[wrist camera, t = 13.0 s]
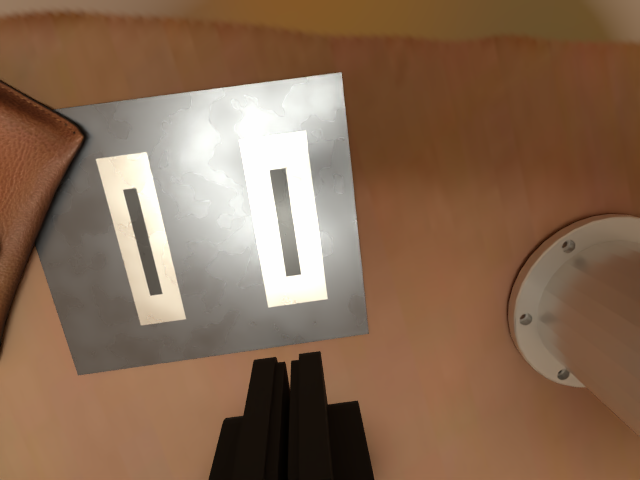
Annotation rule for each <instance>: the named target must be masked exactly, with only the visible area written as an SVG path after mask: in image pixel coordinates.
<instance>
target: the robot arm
mask: <svg viewBox="0 0 640 480" xmlns="http://www.w3.org/2000/svg"><path fill="white" fill-rule="evenodd" d="M508 322H509V328H510V334H511V337H512V339H513V342H514V344H515V347H516V348H517V350H518V351H519V353H520V354H521V355H522V357H523V358H524V359H525V360H526V361H527V362H528V363H529V364H530V365H531V366H532V368H533V369H534V370H535V371H537V372H538V373H540V374H541V375H543V376H544V377H545V378H547V379H549V380H551V381H553V382H556V383H558V384H562V385H567V386H571V387H585V388H588V389H589V390H590V391H591V392H592V393H593V394H594V395H595V396H596V397H597V398H598V399H599V400H601V401H602V402H603V403H604V404H605V405H606V406H607V407H608V408H609V409H610V410H611V411H612V412H613V413H614V414H616V415H617V416H618V417H619V418H620V419H621V420H622V421H623V422H624V423H625V424H626V425H627V426H628V427H630V428H631V429H632V430H633V431H634V432H635V433H636V434H637V435H638V436H639V437H640V217H636V216H632V215H626V214H606V215H599V216H593V217H589V218H586V219H583V220H580V221H577V222H575V223H573V224H571V225H569V226H567V227H565V228H563V229H561V230H559V231H558V232H557V233H555V234H554V235H553V236H551V237H550V238H549V239H547V240H546V241H545V242H543V243H542V244H541V245H540V246H539V248H538V249H537V250H536V251H535V252H534V253H533V254H532V255H531V256H530V257H529V259H528V260H527V262H526V263H525V265H524V266H523V268H522V269H521V270H520V272H519V275H518V277H517V279H516V281H515V283H514V286H513V288H512V292H511V296H510V300H509V308H508ZM209 480H374V476H373V471H372V466H371V461H370V456H369V452H368V447H367V442H366V437H365V432H364V427H363V422H362V418H361V413H360V408H359V403H358V401H352V402H344V403H337V404H329V405H328V403H327V396H326V389H325V381H324V374H323V366H322V359H321V352H320V351H318V352H311V353H303V354H299V360H294V361H291V383H290V387H289V381H288V375H287V369H286V364H285V362H279V363H278V362H277V358H276V357H273V358H265V359H257V360H254V362H253V367H252V373H251V378H250V384H249V389H248V394H247V400H246V405H245V410H244V416H239V417H231V418H226V419H225V420H224V421H223V424H222V428H221V432H220V436H219V440H218V444H217V448H216V452H215V456H214V460H213V464H212V468H211V472H210V476H209Z"/></svg>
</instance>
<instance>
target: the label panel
mask: <svg viewBox="0 0 640 480" xmlns="http://www.w3.org/2000/svg"><path fill="white" fill-rule="evenodd" d="M53 111H55V112H56V113H58V114H60V115H61V116H63V117H65V118H66V119H68V120H70V121H71V122H73V123H74V124H75V125H76V126H77V127H78V128H79V129H80V131H81V132H82V134H83V135H84V139H83V142H82V145H81V147H80V149H79V151H78V153H77V155H76V157H75V159H74V161H73V163H72V165H71V166H70V168H69V170H68V172H67V174H66V176H65V177H64V179H63V181H62V182H61V184H60V186H59V188H58V190H57V193H56V195H55V197H54V199H53V202H52V204H51V206H50V208H49V210H48V212H47V214H46V216H45V219H44V221H43V224H42V227H41V229H40V231H39V233H38V236H37V238H36V240H35V246H36V249H37V252H38V255H39V258H40V261H41V264H42V267H43V270H44V273H45V276H46V279H47V282H48V285H49V288H50V291H51V294H52V297H53V300H54V303H55V307H56V310H57V313H58V316H59V319H60V322H61V325H62V328H63V331H64V334H65V337H66V340H67V343H68V346H69V349H70V352H71V355H72V358H73V361H74V364H75V367H76V370H77V373H78V375H84V374H91V373H98V372H105V371H112V370H119V369H126V368H133V367H140V366H146V365H153V364H160V363H167V362H174V361H181V360H188V359H195V358H202V357H209V356H216V355H223V354H230V353H237V352H244V351H251V350H258V349H265V348H272V347H279V346H286V345H293V344H300V343H307V342H314V341H321V340H328V339H335V338H342V337H348V336H355V335H362V334H369V331H368V322H367V312H366V303H365V293H364V284H363V274H362V264H361V255H360V245H359V236H358V226H357V217H356V207H355V197H354V188H353V178H352V169H351V159H350V149H349V140H348V130H347V121H346V111H345V102H344V92H343V82H342V73H333V74H326V75H318V76H310V77H302V78H295V79H287V80H279V81H271V82H264V83H256V84H248V85H241V86H233V87H225V88H217V89H210V90H202V91H194V92H187V93H179V94H171V95H163V96H156V97H148V98H140V99H132V100H125V101H117V102H109V103H102V104H94V105H86V106H78V107H71V108H63V109H55V110H53Z"/></svg>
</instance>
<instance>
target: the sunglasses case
mask: <svg viewBox="0 0 640 480" xmlns="http://www.w3.org/2000/svg"><path fill="white" fill-rule="evenodd" d="M83 139H84V135H83V134H82V132H81V131H80V129H79V128H78V127H77V126H76V125H75V124H74V123H73V122H71V121H70V120H68V119H66V118H65V117H63V116H61V115H60V114H58V113H56V112H55V111H53V110H51V109H50V108H48V107H46V106H44V105H42V104H41V103H39V102H37V101H35V100H33V99H31V98H30V97H28V96H26V95H24V94H23V93H21V92H19V91H17V90H15V89H14V88H12V87H10V86H8V85H7V84H5V83H3V82H2V81H0V346H1V341H2V336H3V331H4V327H5V323H6V320H7V316H8V313H9V310H10V307H11V304H12V301H13V298H14V295H15V292H16V290H17V287H18V284H19V282H20V279H21V276H22V274H23V271H24V268H25V266H26V263H27V260H28V258H29V255H30V253H31V251H32V248H33V245H34V243H35V240H36V238H37V236H38V233H39V231H40V229H41V227H42V224H43V221H44V219H45V216H46V214H47V212H48V210H49V208H50V206H51V204H52V202H53V199H54V197H55V195H56V193H57V190H58V188H59V186H60V184H61V182H62V181H63V179H64V177H65V176H66V174H67V172H68V170H69V168H70V166H71V165H72V163H73V161H74V159H75V157H76V155H77V153H78V151H79V149H80V147H81V145H82V142H83Z"/></svg>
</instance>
